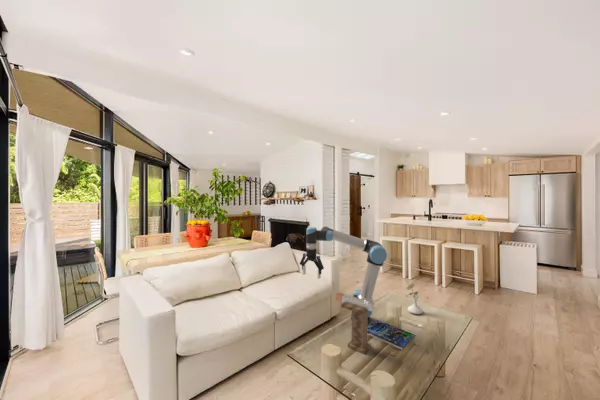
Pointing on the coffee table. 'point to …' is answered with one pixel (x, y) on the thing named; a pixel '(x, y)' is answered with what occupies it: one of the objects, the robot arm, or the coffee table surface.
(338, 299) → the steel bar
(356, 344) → the walnut stand
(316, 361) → the coffee table surface
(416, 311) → the flower in vase
